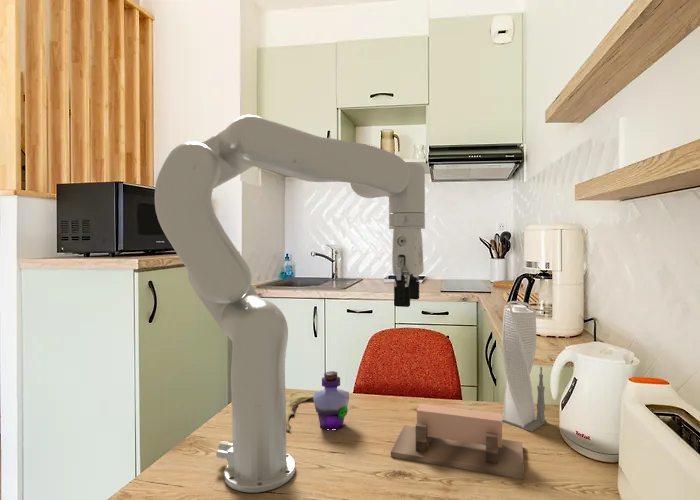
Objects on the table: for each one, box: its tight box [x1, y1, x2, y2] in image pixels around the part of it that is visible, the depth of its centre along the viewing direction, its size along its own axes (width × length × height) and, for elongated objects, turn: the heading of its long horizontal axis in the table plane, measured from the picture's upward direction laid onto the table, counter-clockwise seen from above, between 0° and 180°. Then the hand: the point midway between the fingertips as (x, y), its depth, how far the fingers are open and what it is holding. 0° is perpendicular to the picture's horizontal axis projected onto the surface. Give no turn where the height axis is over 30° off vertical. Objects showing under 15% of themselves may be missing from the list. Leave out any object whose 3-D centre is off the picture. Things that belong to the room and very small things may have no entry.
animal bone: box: [286, 391, 314, 433], centre depth 105 cm, size 21×2×10 cm
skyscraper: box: [501, 300, 547, 432], centre depth 98 cm, size 8×8×28 cm
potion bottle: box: [312, 370, 350, 432], centre depth 98 cm, size 9×9×12 cm
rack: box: [390, 422, 525, 480], centre depth 86 cm, size 24×12×6 cm, turn 70°
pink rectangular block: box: [416, 403, 503, 448], centre depth 85 cm, size 16×4×5 cm, turn 70°
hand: (407, 302), depth 93 cm, fingers open, 9 cm apart
